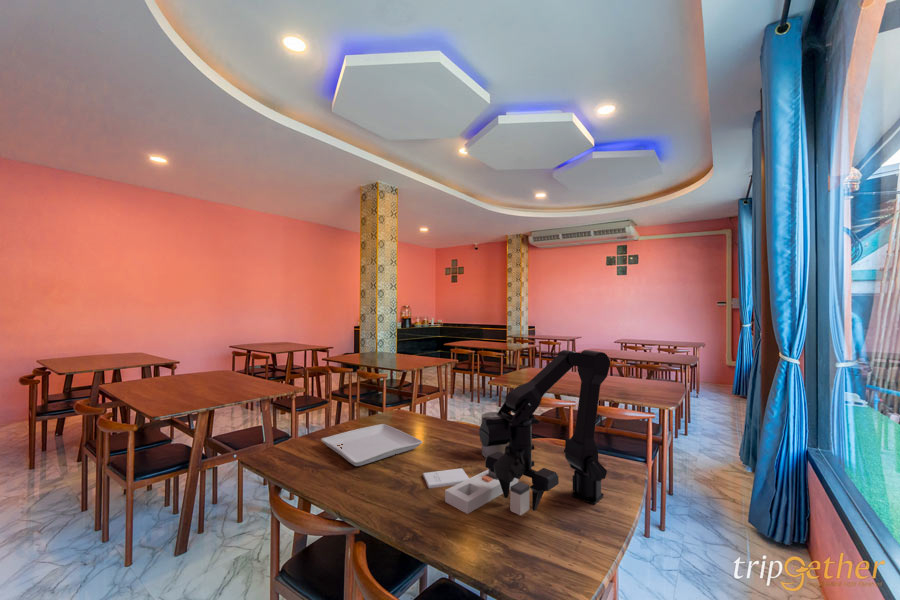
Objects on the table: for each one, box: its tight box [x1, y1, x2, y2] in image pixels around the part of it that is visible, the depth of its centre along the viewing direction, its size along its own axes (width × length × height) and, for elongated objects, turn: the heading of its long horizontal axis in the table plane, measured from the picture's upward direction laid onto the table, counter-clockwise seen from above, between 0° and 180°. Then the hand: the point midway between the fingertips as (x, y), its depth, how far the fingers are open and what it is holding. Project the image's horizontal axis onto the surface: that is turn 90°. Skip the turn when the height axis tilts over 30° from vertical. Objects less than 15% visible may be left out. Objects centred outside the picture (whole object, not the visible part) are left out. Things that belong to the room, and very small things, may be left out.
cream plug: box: [509, 481, 530, 516], centre depth 91 cm, size 3×4×6 cm
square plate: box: [320, 423, 423, 467], centre depth 131 cm, size 27×27×4 cm
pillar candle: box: [481, 411, 509, 459], centre depth 126 cm, size 10×10×15 cm
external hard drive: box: [422, 468, 470, 489], centre depth 107 cm, size 2×8×12 cm
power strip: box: [444, 468, 519, 515], centre depth 100 cm, size 8×22×4 cm, turn 135°
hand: (519, 503), depth 91 cm, fingers open, 8 cm apart
